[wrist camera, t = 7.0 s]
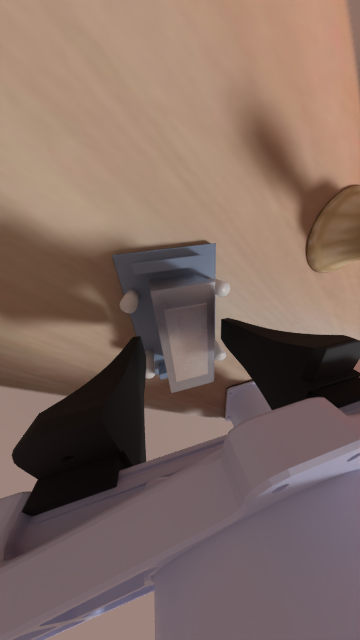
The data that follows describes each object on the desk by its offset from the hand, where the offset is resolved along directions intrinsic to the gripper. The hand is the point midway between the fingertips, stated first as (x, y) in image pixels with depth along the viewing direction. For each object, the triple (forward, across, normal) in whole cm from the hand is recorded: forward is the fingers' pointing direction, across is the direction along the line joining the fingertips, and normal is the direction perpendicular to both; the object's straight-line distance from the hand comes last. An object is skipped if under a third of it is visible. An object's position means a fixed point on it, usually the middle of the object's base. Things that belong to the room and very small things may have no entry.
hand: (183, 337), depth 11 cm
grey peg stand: (+4, 0, 0) cm, 4 cm away
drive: (+3, 0, 0) cm, 3 cm away
